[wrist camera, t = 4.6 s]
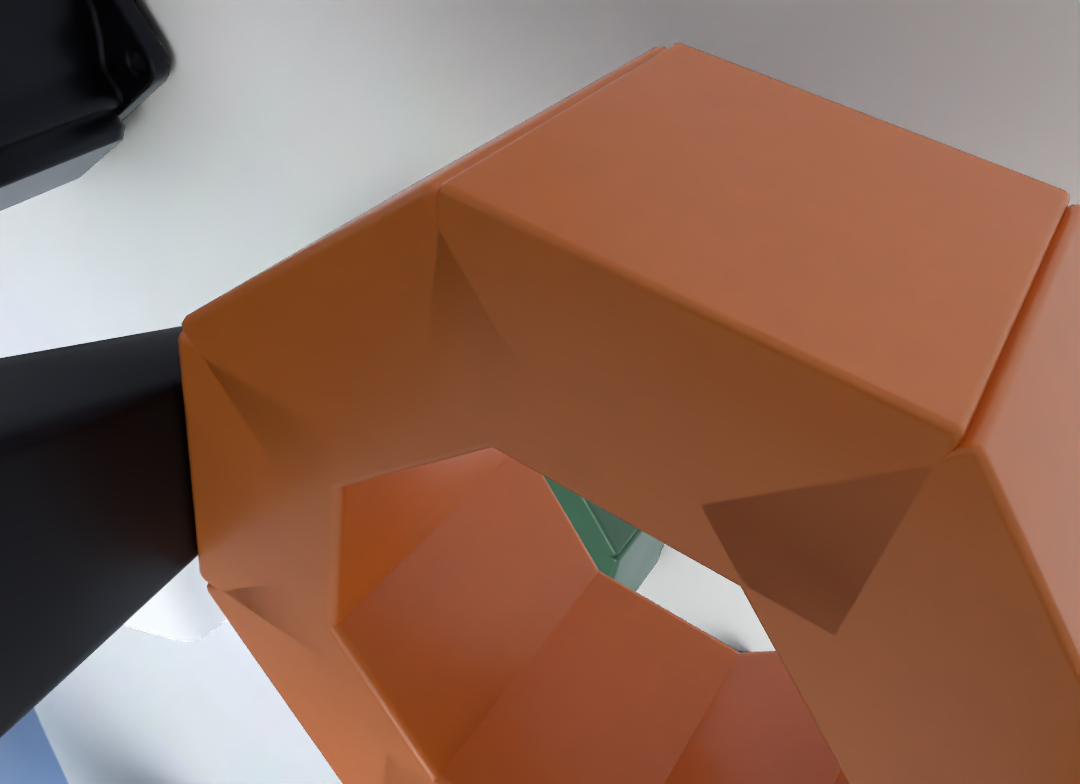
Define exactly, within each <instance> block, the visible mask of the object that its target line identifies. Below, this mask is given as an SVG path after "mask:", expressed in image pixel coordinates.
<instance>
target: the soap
mask: <svg viewBox="0 0 1080 784" xmlns="http://www.w3.org/2000/svg"><path fill="white" fill-rule="evenodd" d="M207 585H208V582H207V581H206V580H205V579H204V578H203V577H202V575H201V574H200V570H199V559H198V556H197V557H196V558H195V559H193V560H192V561H191V562H190V563H189V564H188V565H187V566H186V567H185V568H184V569H183V570H182V571H181V572H179V573H178V574H177V575H176V576H175V577H174V578H173V579H172V580H171V581H170V582H169V583H168V584H166V585H165V586H164V587H163V588H162V589H161V590H160V591H159V592H158V593H157V594H156V595H155V596H153V597H152V598H151V599H150V600H149V601H148V602H147V603H146V604H145V605H144V606H143V607H142V608H140V609H139V610H138V611H137V612H136V613H135V614H134V615H133V616H132V617H131V618H130V619H129V620H127V621H126V622H125V623H124V624H123V625H124V626H127V627H130V628H133V629H136V630H139V631H143V632H146V633H150V634H153V635H156V636H160V637H164V638H168V639H172V640H175V641H180V642H192V641H197V640H200V639H202V638H204V637H205V636H207V635H208V634H209V633H210V632H212V631H213V630H214V629H215V628H216V627H218V626H219V625H220V624H221V623H222V622H227V623H230V622H229V621H228V619H227V618H226V616H225V615H224V614H223V612H222V611H221V609H220V608H219V607H218V605H217V604H216V602H215V601H214V599H213V598H212V597H211V595H210V594H209V592H208V589H207Z"/></svg>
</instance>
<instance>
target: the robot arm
mask: <svg viewBox="0 0 1080 784" xmlns="http://www.w3.org/2000/svg"><path fill="white" fill-rule="evenodd" d="M168 76H169V62H168V58H167V55H166V53H165V51H164V49H163V47H162V45H161V44H160V42H159V41H158V39H157V37H156V36H155V34H154V33H153V31H152V29H151V28H150V26H149V24H148V23H147V21H146V20H145V18H144V16H143V15H142V13H141V11H140V10H139V8H138V7H137V5H136V3H135V2H134V0H0V211H1V210H3V209H6V208H8V207H11V206H13V205H15V204H18V203H20V202H23V201H25V200H27V199H30V198H32V197H34V196H37V195H39V194H42V193H44V192H46V191H49V190H51V189H54V188H56V187H58V186H61V185H63V184H66V183H68V182H70V181H73V180H75V179H77V178H79V177H81V176H82V175H83V174H84V173H85V172H86V171H88V170H89V169H90V168H91V167H92V166H93V165H94V164H95V163H97V162H98V161H99V160H100V159H101V158H102V157H103V156H105V155H106V154H107V153H108V152H109V151H110V150H111V149H112V148H114V147H115V146H116V145H117V144H118V143H119V142H120V141H121V140H122V139H123V135H124V131H125V125H124V124H123V122H122V120H123V119H124V118H125V117H126V116H128V115H129V114H130V113H131V112H132V111H133V110H134V109H135V108H136V107H137V106H138V105H140V104H141V103H142V102H143V101H144V100H145V99H146V98H147V97H148V96H149V95H150V94H152V93H153V92H154V91H155V90H156V89H157V88H158V87H159V86H160V85H161V84H162V83H164V82H165V81H166V79H167V77H168ZM182 331H183V327H182V326H180V327H175V328H169V329H163V330H158V331H152V332H146V333H141V334H135V335H129V336H124V337H118V338H112V339H107V340H101V341H95V342H90V343H84V344H78V345H73V346H67V347H61V348H56V349H50V350H44V351H39V352H33V353H27V354H22V355H16V356H10V357H5V358H0V738H1V737H2V736H3V735H4V734H5V733H6V732H7V731H8V730H9V729H11V728H12V727H13V726H14V725H15V724H16V723H17V722H18V721H19V720H20V719H21V718H22V717H24V716H25V715H26V714H27V713H28V712H29V711H30V710H31V709H32V708H33V707H34V706H35V705H37V704H38V703H39V702H40V701H41V700H42V699H43V698H44V697H45V696H46V695H47V694H48V693H50V692H51V691H52V690H53V689H54V688H55V687H56V686H57V685H58V684H59V683H60V682H61V681H63V680H64V679H65V678H66V677H67V676H68V675H69V674H70V673H71V672H72V671H73V670H74V669H76V668H77V667H78V666H79V665H80V664H81V663H82V662H83V661H84V660H85V659H86V658H87V657H89V656H90V655H91V654H92V653H93V652H94V651H95V650H96V649H97V648H98V647H99V646H100V645H102V644H103V643H104V642H105V641H106V640H107V639H108V638H109V637H110V636H111V635H112V634H113V633H114V632H116V631H117V630H118V629H119V628H120V627H121V626H122V625H123V624H124V623H125V622H126V621H127V620H129V619H130V618H131V617H132V616H133V615H134V614H135V613H136V612H137V611H138V610H139V609H140V608H142V607H143V606H144V605H145V604H146V603H147V602H148V601H149V600H150V599H151V598H152V597H153V596H155V595H156V594H157V593H158V592H159V591H160V590H161V589H162V588H163V587H164V586H165V585H166V584H168V583H169V582H170V581H171V580H172V579H173V578H174V577H175V576H176V575H177V574H178V573H179V572H181V571H182V570H183V569H184V568H185V567H186V566H187V565H188V564H189V563H190V562H191V561H192V560H193V559H195V558H196V557H197V556H198V549H197V538H196V527H195V517H194V506H193V495H192V485H191V474H190V463H189V453H188V442H187V431H186V420H185V410H184V399H183V388H182V378H181V367H180V356H179V346H178V338H179V335H180V333H181V332H182Z"/></svg>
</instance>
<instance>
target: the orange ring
mask: <svg viewBox="0 0 1080 784" xmlns="http://www.w3.org/2000/svg"><path fill="white" fill-rule="evenodd" d="M1069 197H1070V195H1069V193H1067V192H1066V191H1065V190H1062V189H1060V188H1057V187H1054V186H1052V185H1049V184H1047V183H1044V182H1041V181H1039V180H1036V179H1034V178H1031V177H1028V176H1026V175H1023V174H1021V173H1018V172H1015V171H1013V170H1010V169H1007V168H1005V167H1002V166H1000V165H997V164H994V163H992V162H989V161H987V160H984V159H981V158H979V157H976V156H974V155H971V154H968V153H966V152H963V151H961V150H958V149H955V148H953V147H950V146H948V145H945V144H942V143H940V142H937V141H935V140H932V139H929V138H927V137H924V136H922V135H919V134H916V133H914V132H911V131H908V130H906V129H903V128H901V127H898V126H895V125H893V124H890V123H888V122H885V121H882V120H880V119H877V118H875V117H872V116H869V115H867V114H864V113H862V112H859V111H856V110H854V109H851V108H849V107H846V106H843V105H841V104H838V103H836V102H833V101H830V100H828V99H825V98H823V97H820V96H817V95H815V94H812V93H809V92H807V91H804V90H802V89H799V88H796V87H794V86H791V85H789V84H786V83H783V82H781V81H778V80H776V79H773V78H770V77H768V76H765V75H763V74H760V73H757V72H755V71H752V70H750V69H747V68H744V67H742V66H739V65H737V64H734V63H731V62H729V61H726V60H723V59H721V58H718V57H716V56H713V55H710V54H708V53H705V52H703V51H700V50H697V49H695V48H692V47H690V46H687V45H684V44H682V43H677V44H674V45H673V46H671V47H669V48H668V49H666V48H665V47H655V48H653V49H651V50H649V51H647V52H646V53H644V54H642V55H640V56H639V57H637V58H635V59H633V60H632V61H630V62H628V63H626V64H625V65H623V66H621V67H619V68H618V69H616V70H614V71H612V72H610V73H609V74H607V75H605V76H603V77H602V78H600V79H598V80H596V81H595V82H593V83H591V84H589V85H588V86H586V87H584V88H582V89H580V90H579V91H577V92H575V93H573V94H572V95H570V96H568V97H566V98H565V99H563V100H561V101H559V102H558V103H556V104H554V105H552V106H551V107H549V108H547V109H545V110H543V111H542V112H540V113H538V114H536V115H535V116H533V117H531V118H529V119H528V120H526V121H524V122H522V123H521V124H519V125H517V126H515V127H513V128H512V129H510V130H508V131H506V132H505V133H503V134H501V135H499V136H498V137H496V138H494V139H492V140H491V141H489V142H487V143H485V144H484V145H482V146H480V147H478V148H476V149H475V150H473V151H471V152H469V153H468V154H466V155H464V156H462V157H461V158H459V159H457V160H455V161H454V162H452V163H450V164H448V165H446V166H445V167H443V168H441V169H439V170H438V171H436V172H434V173H432V174H431V175H429V176H427V177H425V178H424V179H422V180H420V181H418V182H417V183H415V184H413V185H411V186H410V187H408V188H406V189H405V190H403V191H401V192H399V193H398V194H396V195H394V196H392V197H391V198H389V199H387V200H386V201H384V202H382V203H380V204H379V205H377V206H375V207H373V208H372V209H370V210H368V211H367V212H365V213H363V214H361V215H360V216H358V217H356V218H355V219H353V220H351V221H349V222H348V223H346V224H344V225H342V226H341V227H339V228H337V229H336V230H334V231H332V232H330V233H329V234H327V235H325V236H323V237H322V238H320V239H318V240H317V241H315V242H313V243H311V244H310V245H308V246H306V247H304V248H303V249H301V250H299V251H298V252H296V253H294V254H292V255H291V256H289V257H287V258H285V259H284V260H282V261H280V262H279V263H277V264H275V265H273V266H272V267H270V268H268V269H266V270H265V271H263V272H261V273H260V274H258V275H256V276H254V277H253V278H251V279H249V280H247V281H246V282H244V283H242V284H241V285H239V286H237V287H235V288H234V289H232V290H230V291H228V292H227V293H225V294H223V295H222V296H220V297H218V298H216V299H215V300H213V301H211V302H209V303H208V304H206V305H204V306H203V307H201V308H199V309H197V310H196V311H194V312H192V313H191V314H189V315H187V316H186V318H185V319H184V321H183V322H182V327H183V331H182V332H181V333H180V335H179V338H178V346H179V356H180V367H181V378H182V388H183V399H184V410H185V420H186V431H187V442H188V453H189V463H190V474H191V485H192V495H193V506H194V517H195V527H196V538H197V549H198V559H199V570H200V574H201V575H202V577H203V578H204V579H205V580H206V581H207V582H208V585H207V589H208V592H209V594H210V595H211V597H212V598H213V599H214V601H215V602H216V604H217V605H218V607H219V608H220V609H221V611H222V612H223V614H224V615H225V616H226V618H227V619H228V621H229V622H230V624H231V625H232V626H233V628H234V629H235V631H236V632H237V634H238V635H239V636H240V638H241V639H242V641H243V642H244V644H245V645H246V646H247V648H248V649H249V651H250V652H251V654H252V655H253V656H254V658H255V659H256V661H257V662H258V664H259V665H260V666H261V668H262V669H263V671H264V672H265V674H266V675H267V676H268V678H269V679H270V681H271V682H272V683H273V685H274V686H275V688H276V689H277V691H278V692H279V693H280V695H281V696H282V698H283V699H284V701H285V702H286V703H287V705H288V706H289V708H290V709H291V711H292V712H293V713H294V715H295V716H296V718H297V719H298V721H299V722H300V723H301V725H302V726H303V728H304V729H305V731H306V732H307V733H308V735H309V736H310V738H311V739H312V740H313V742H314V743H315V745H316V746H317V748H318V749H319V750H320V752H321V753H322V755H323V756H324V758H325V759H326V760H327V762H328V763H329V765H330V766H331V768H332V769H333V770H334V772H335V773H336V775H337V776H338V778H339V779H340V780H341V782H342V783H343V784H1080V205H1071V206H1068V207H1067V205H1068V202H1069ZM544 476H545V477H547V478H549V479H550V480H552V481H554V482H556V483H558V484H559V485H561V486H563V487H565V488H566V489H568V490H570V491H572V492H574V493H575V494H577V495H579V496H581V497H583V498H584V499H586V500H588V501H590V502H591V503H593V504H595V505H597V506H599V507H600V508H602V509H604V510H606V511H608V512H609V513H611V514H613V515H615V516H616V517H618V518H620V519H622V520H624V521H625V522H627V523H629V524H631V525H633V526H634V527H636V528H638V529H640V530H641V531H643V532H645V533H647V534H649V535H650V536H652V537H654V538H656V539H657V540H659V541H661V542H663V543H665V544H666V545H668V546H670V547H672V548H674V549H675V550H677V551H679V552H681V553H682V554H684V555H686V556H688V557H690V558H691V559H693V560H695V561H697V562H699V563H700V564H702V565H704V566H706V567H707V568H709V569H711V570H713V571H715V572H716V573H718V574H720V575H722V576H723V577H725V578H727V579H729V580H731V581H732V582H734V583H736V584H738V585H740V586H741V588H742V589H743V591H744V593H745V595H746V597H747V599H748V600H749V602H750V604H751V606H752V608H753V609H754V611H755V613H756V615H757V617H758V619H759V620H760V622H761V624H762V626H763V628H764V630H765V631H766V633H767V635H768V637H769V639H770V641H771V642H772V644H773V646H774V648H775V650H776V651H763V652H743V653H740V652H738V651H736V650H734V649H733V648H731V647H729V646H728V645H726V644H724V643H722V642H721V641H719V640H717V639H716V638H714V637H712V636H710V635H709V634H707V633H705V632H704V631H702V630H700V629H698V628H697V627H695V626H693V625H692V624H690V623H688V622H686V621H685V620H683V619H681V618H680V617H678V616H676V615H674V614H673V613H671V612H669V611H668V610H666V609H664V608H662V607H661V606H659V605H657V604H656V603H654V602H652V601H650V600H649V599H647V598H645V597H644V596H642V595H640V594H638V593H637V592H635V591H633V590H632V589H630V588H628V587H626V586H625V585H623V584H621V583H620V582H618V581H616V580H614V579H613V578H611V577H609V576H608V575H606V574H604V573H602V572H601V571H599V570H598V568H597V566H596V564H595V563H594V561H593V559H592V558H591V556H590V554H589V552H588V551H587V549H586V547H585V546H584V544H583V542H582V540H581V539H580V537H579V535H578V534H577V532H576V530H575V529H574V527H573V525H572V523H571V522H570V520H569V518H568V517H567V515H566V513H565V511H564V510H563V508H562V506H561V505H560V503H559V501H558V499H557V498H556V496H555V494H554V493H553V491H552V489H551V488H550V486H549V484H548V482H547V481H546V479H545V477H544Z"/></svg>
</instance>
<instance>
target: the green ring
mask: <svg viewBox="0 0 1080 784" xmlns="http://www.w3.org/2000/svg"><path fill="white" fill-rule="evenodd" d="M544 477H545V476H544ZM545 479H546V481H547V482H548V484H549V486H550V488H551V489H552V491H553V493H554V494H555V496H556V498H557V499H558V501H559V503H560V505H561V506H562V508H563V510H564V511H565V513H566V515H567V517H568V518H569V520H570V522H571V523H572V525H573V527H574V529H575V530H576V532H577V534H578V535H579V537H580V539H581V540H582V542H583V544H584V546H585V547H586V549H587V551H588V552H589V554H590V556H591V558H592V559H593V561H594V563H595V564H596V566H597V568H598V570H599V571H601V572H602V573H604V574H606V575H608V576H609V577H611V578H613V579H614V580H616V581H618V582H620V583H621V584H623V585H625V586H626V587H628V588H630V589H632V590H633V591H635V592H636V590H637V589H638V588H639V586H640V585H641V584H642V582H643V581H644V579H645V578H646V577H647V575H648V574H649V572H650V571H651V570H652V568H653V567H654V566H655V564H656V563H657V561H658V558H659V555H660V552H661V550H662V547H663V544H664V543H663V542H661V541H659V540H657V539H656V538H654V537H652V536H650V535H649V534H647V533H645V532H643V531H641V530H640V529H638V528H636V527H634V526H633V525H631V524H629V523H627V522H625V521H624V520H622V519H620V518H618V517H616V516H615V515H613V514H611V513H609V512H608V511H606V510H604V509H602V508H600V507H599V506H597V505H595V504H593V503H591V502H590V501H588V500H586V499H584V498H583V497H581V496H579V495H577V494H575V493H574V492H572V491H570V490H568V489H566V488H565V487H563V486H561V485H559V484H558V483H556V482H554V481H552V480H550V479H549V478H547V477H545Z"/></svg>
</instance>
